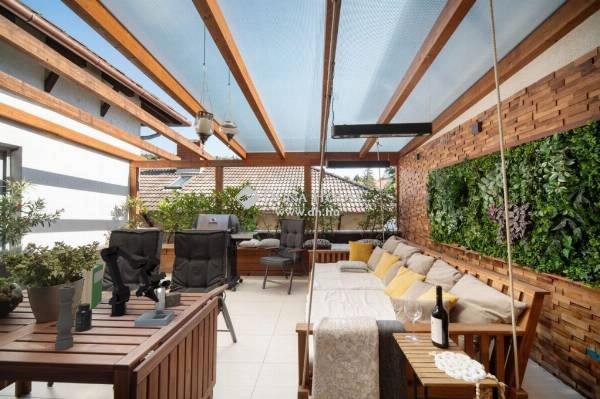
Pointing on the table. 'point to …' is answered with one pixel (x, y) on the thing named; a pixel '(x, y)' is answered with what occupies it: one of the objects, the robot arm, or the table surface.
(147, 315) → the jig plate
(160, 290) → the polished metal rod
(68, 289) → the candle holder
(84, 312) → the supplement bottle
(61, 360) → the table surface
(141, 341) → the table surface
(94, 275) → the hardback book
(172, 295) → the stone block
